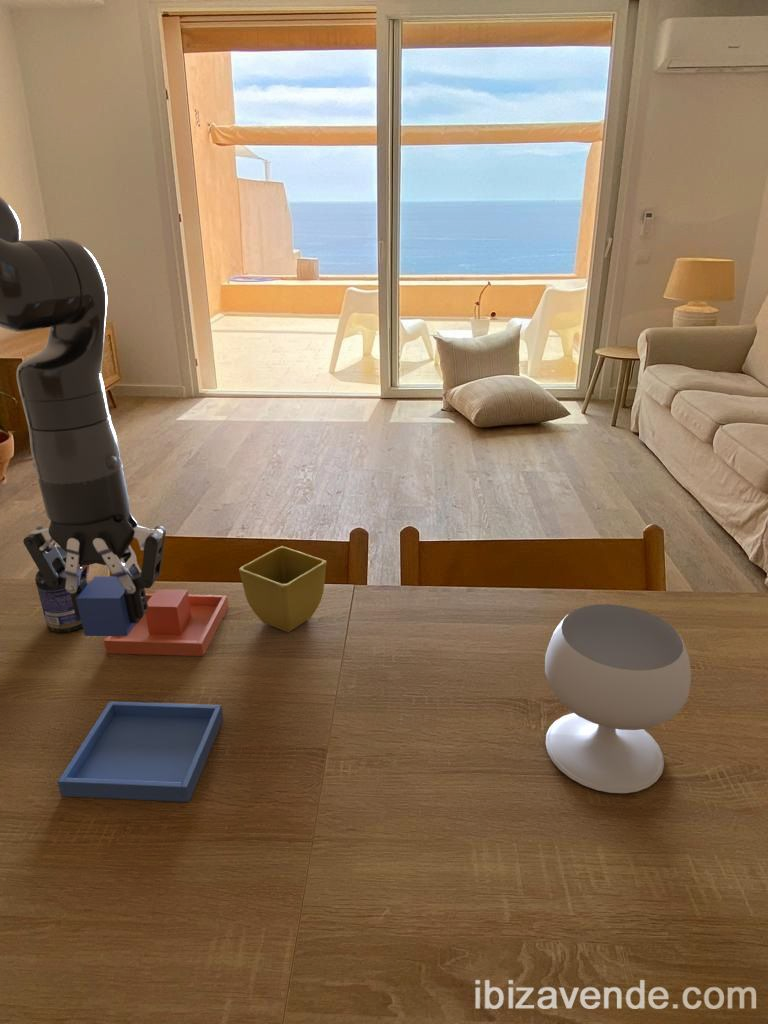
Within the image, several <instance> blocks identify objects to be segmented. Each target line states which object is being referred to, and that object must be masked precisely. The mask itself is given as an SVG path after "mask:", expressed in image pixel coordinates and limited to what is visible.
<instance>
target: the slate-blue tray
mask: <svg viewBox="0 0 768 1024" xmlns="http://www.w3.org/2000/svg"><path fill="white" fill-rule="evenodd" d="M223 721H224V715H223V707H222V705H221V704H220V705H219V704H197V703H196V704H195V703H167V702H165V703H164V702H141V701H140V702H136V701H111V700H110V701H109V702H108V703H107V704H106V706H105V708H104V709H103V710H102V712H101V714H100V716H99V717H98V719H97V720H96V722H95V723H94V725H93V726H92V727H91V729H90V731H88V734H87V735H86V737H85V738H84V740H83V741H82V743H81V744H80V746H79V747H78V749H77V751H75V752H76V753H75V754H74V755H73V757H72V759H71V760H70V762H69V763H68V765H66V766H67V767H65V768H64V769H65V770H63V773H62V774H61V776H60V777H59V779H58V780H57V786H58V789H59V792H60V796H61V797H65V798H66V797H67V798H87V799H88V798H91V799H111V800H131V801H132V800H134V801H135V800H136V801H156V802H157V801H159V802H181V803H182V802H183V803H190V801H191V799H192V797H193V794H194V793H195V789H196V787H197V784H198V782H199V779H200V777H201V775H202V772H203V769H204V767H205V764H206V762H207V760H208V757H209V755H210V752H211V750H212V747H213V745H214V743H215V740H216V738H217V736H218V733H219V731H220V728H221V725H222V723H223Z"/></svg>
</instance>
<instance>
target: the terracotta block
mask: <svg viewBox="0 0 768 1024" xmlns="http://www.w3.org/2000/svg"><path fill="white" fill-rule="evenodd" d="M152 594H153V595H152V596H151V598H150V599H149V600H148V602H147V604H148V609H147V611H146V613H145V614H146V619H147V625H148V630H149V634H158V635H181V634H182V633H183V631H184V629H185V627H186V626H187V624H188V622H189V620H190V619H191V611H190V605H189V598H188V594H189V592H188V589H155V590H154V591H153V593H152Z"/></svg>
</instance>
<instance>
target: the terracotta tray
mask: <svg viewBox="0 0 768 1024" xmlns="http://www.w3.org/2000/svg"><path fill="white" fill-rule="evenodd" d="M145 594H146V599H147V602H148V600H149V599H150V598H151V596H152V595H153V593H146V592H145ZM188 598H189V605H190V611H191V619H190V620H189V622H188V624H187V626H186V627H185V629H184V631H183V633H182V634H181V635H158V634H149V630H148V625H147V619H146V614H144V616H143V617H142V618H141V620H140V621H139V623H136V624H135V626H134V627H133V629H132V630H131V632H130V633H129V634H128V636H105V639H104V640H103V644H104V649H105V653H106V654H114V655H115V654H117V655H118V654H119V655H121V654H122V655H125V654H126V655H149V656H150V655H151V656H154V655H155V656H186V657H187V656H189V657H204V656H205V654H206V652H207V650H208V648H209V646H210V644H211V642H212V640H213V638H214V636H215V634H216V632H217V630H218V629H219V627H220V624H221V622H222V621H223V618H224V616H225V615H226V613H227V611H228V608H229V601H228V595H227V594H189V593H188Z"/></svg>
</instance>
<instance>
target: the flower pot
mask: <svg viewBox="0 0 768 1024" xmlns="http://www.w3.org/2000/svg"><path fill="white" fill-rule="evenodd" d="M326 571H327V560H325V559H322V558H319V557H316V556H313V555H310V554H308V553H304V552H302V551H298V550H295V549H292V548H289V547H286V546H283V545H281V546H279V547H276V548H274V549H272V550H270V551H268V552H266V553H264V554H263V555H261V556H259V557H257V558H255V559H253V560H252V561H250V562H247V563H245V564H243V565H242V566H240V568H238V572H239V575H240V580H241V583H242V588H243V592H244V595H245V598H246V601H247V603H248V605H249V607H250V608H251V610H252V611H253V612H254V613H253V614H255V615H256V616H257V617H258V619H259V620H260V621H261V622H262V623H264V624H267V625H269V626H271V627H273V628H277V629H278V630H281V631H283V632H285V633H290V632H291V631H293V630H294V629H296V628H297V627H299V626H300V625H302V624H303V623H305V622H306V621H309V620H310V619H311V618H312V616H314V614H315V612H316V611H317V609H318V607H319V606H320V603H321V601H322V598H323V595H324V590H325V581H326V573H327V572H326Z"/></svg>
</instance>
